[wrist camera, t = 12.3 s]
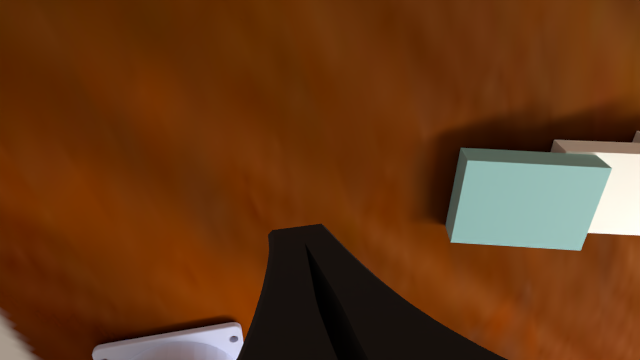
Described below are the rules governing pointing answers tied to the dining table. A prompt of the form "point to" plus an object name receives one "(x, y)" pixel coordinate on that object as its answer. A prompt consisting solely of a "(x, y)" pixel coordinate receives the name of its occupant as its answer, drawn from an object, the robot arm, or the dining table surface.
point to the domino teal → (525, 198)
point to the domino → (613, 184)
